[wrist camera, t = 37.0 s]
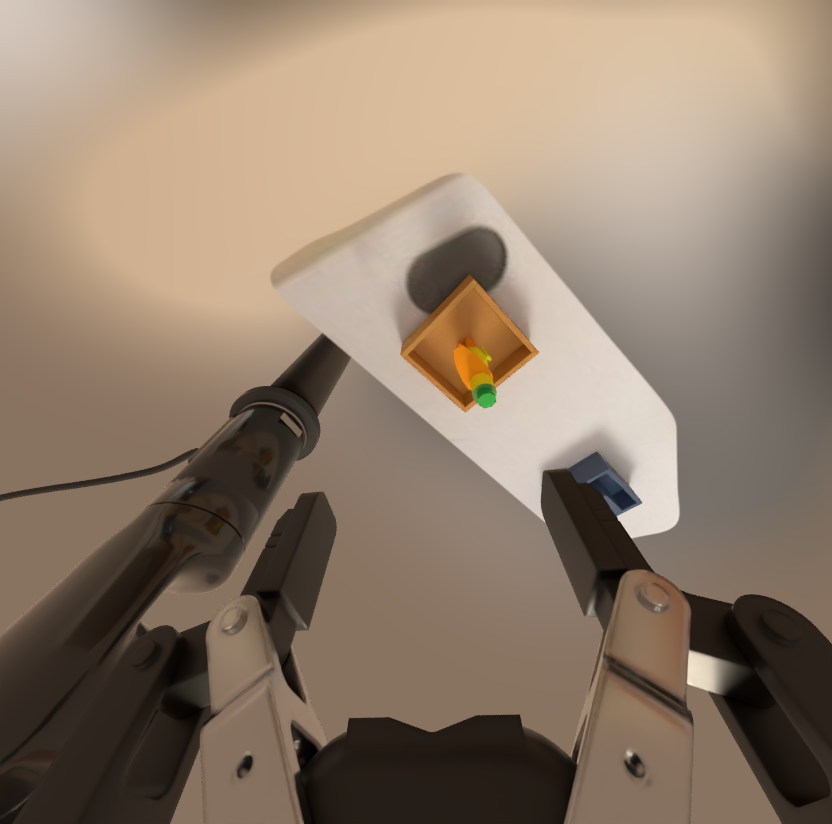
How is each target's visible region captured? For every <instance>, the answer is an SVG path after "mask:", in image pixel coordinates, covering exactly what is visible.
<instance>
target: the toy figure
mask: <svg viewBox="0 0 832 824" xmlns="http://www.w3.org/2000/svg"><path fill="white" fill-rule="evenodd" d="M465 342H466V346H467V347H468V348H467V347H466V346H465V344H463V343H461V342H460V343H458V344H457V347H456V348H455V349H454V361H455V365H456V368H457V371H458V373H459V375H460V377H461V379H462V381H463V382H464V383H465V385H466V386H467V388H468V389H469V390H471V391H472V395H473V399H474V401H475V402H477V403H479V406H481V407H483V408H487V407H492V405H493V404H494V403H495V402H496V389H495V385H494V383H493V375H492V373H491V372H490V370H489V369H488V362H487V359H488V360H489V361H491V360H492V359H491V357H490V355H489V354H488V352H487V351H486V350H485V348H484V347H483V350H481V349H480V348H478V347H477V346H475V344H474V342H473V340H472V339H470V338H469V337H468V338H466V339H465Z"/></svg>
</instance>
